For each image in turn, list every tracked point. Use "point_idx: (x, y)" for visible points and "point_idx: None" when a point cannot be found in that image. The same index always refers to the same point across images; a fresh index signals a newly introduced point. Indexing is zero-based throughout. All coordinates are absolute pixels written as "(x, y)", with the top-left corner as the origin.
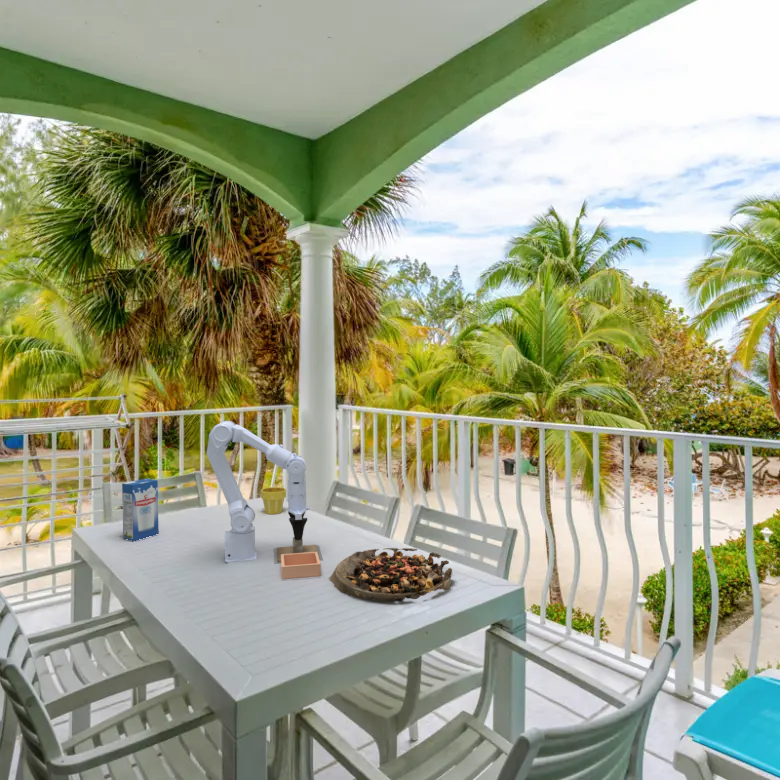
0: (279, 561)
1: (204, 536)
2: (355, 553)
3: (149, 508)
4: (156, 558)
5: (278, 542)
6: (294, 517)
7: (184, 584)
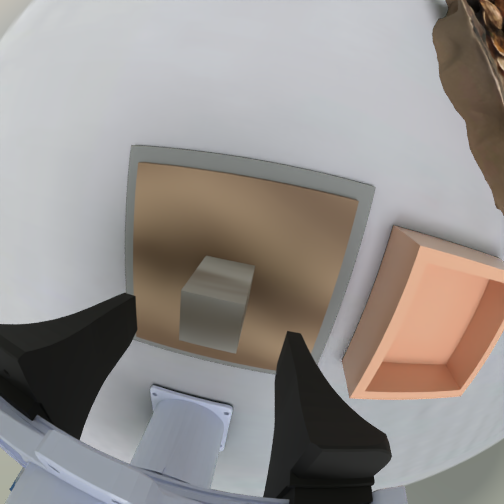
0: None
1: None
2: (493, 73)
3: None
4: None
5: (61, 293)
6: (80, 396)
7: None
